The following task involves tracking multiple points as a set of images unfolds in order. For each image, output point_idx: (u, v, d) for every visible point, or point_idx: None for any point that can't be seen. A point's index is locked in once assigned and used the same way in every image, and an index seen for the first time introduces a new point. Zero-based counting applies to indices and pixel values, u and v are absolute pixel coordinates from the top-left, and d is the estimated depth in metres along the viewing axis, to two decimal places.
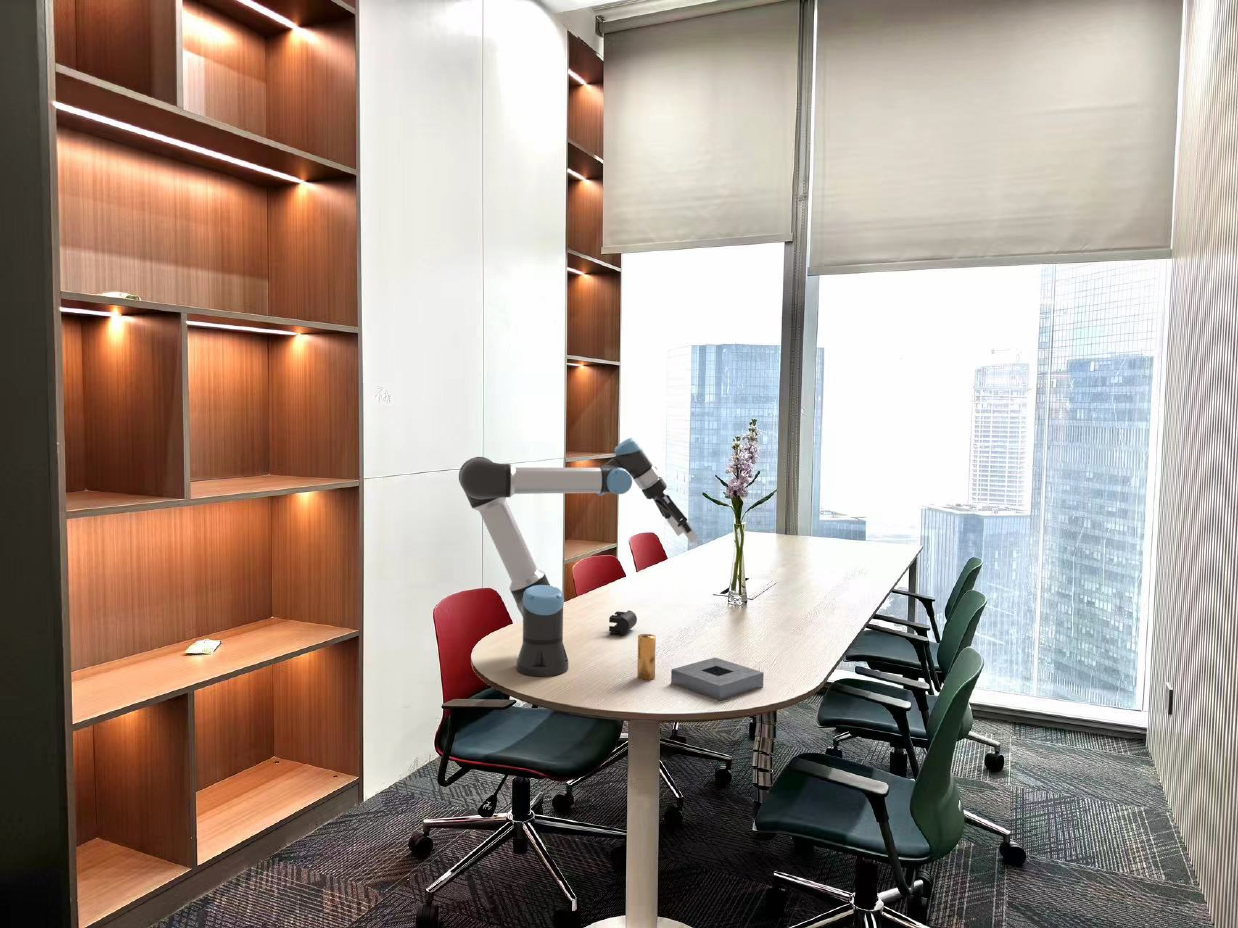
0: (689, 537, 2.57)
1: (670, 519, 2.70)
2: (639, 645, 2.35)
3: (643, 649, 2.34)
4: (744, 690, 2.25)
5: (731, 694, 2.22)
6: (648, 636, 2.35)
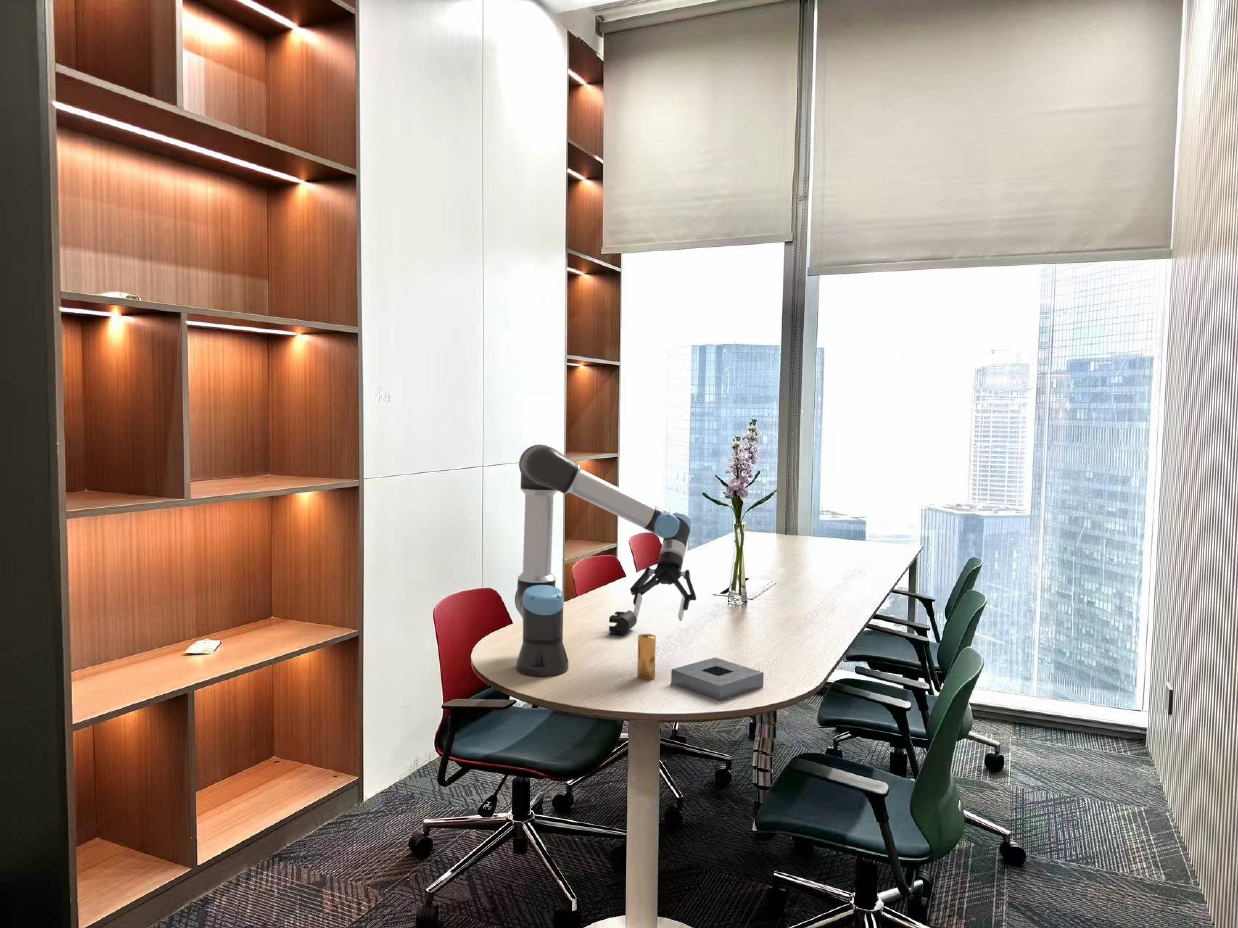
0: (681, 612, 2.44)
1: (640, 596, 2.51)
2: (639, 645, 2.35)
3: (643, 649, 2.34)
4: (744, 690, 2.25)
5: (731, 694, 2.22)
6: (648, 636, 2.35)
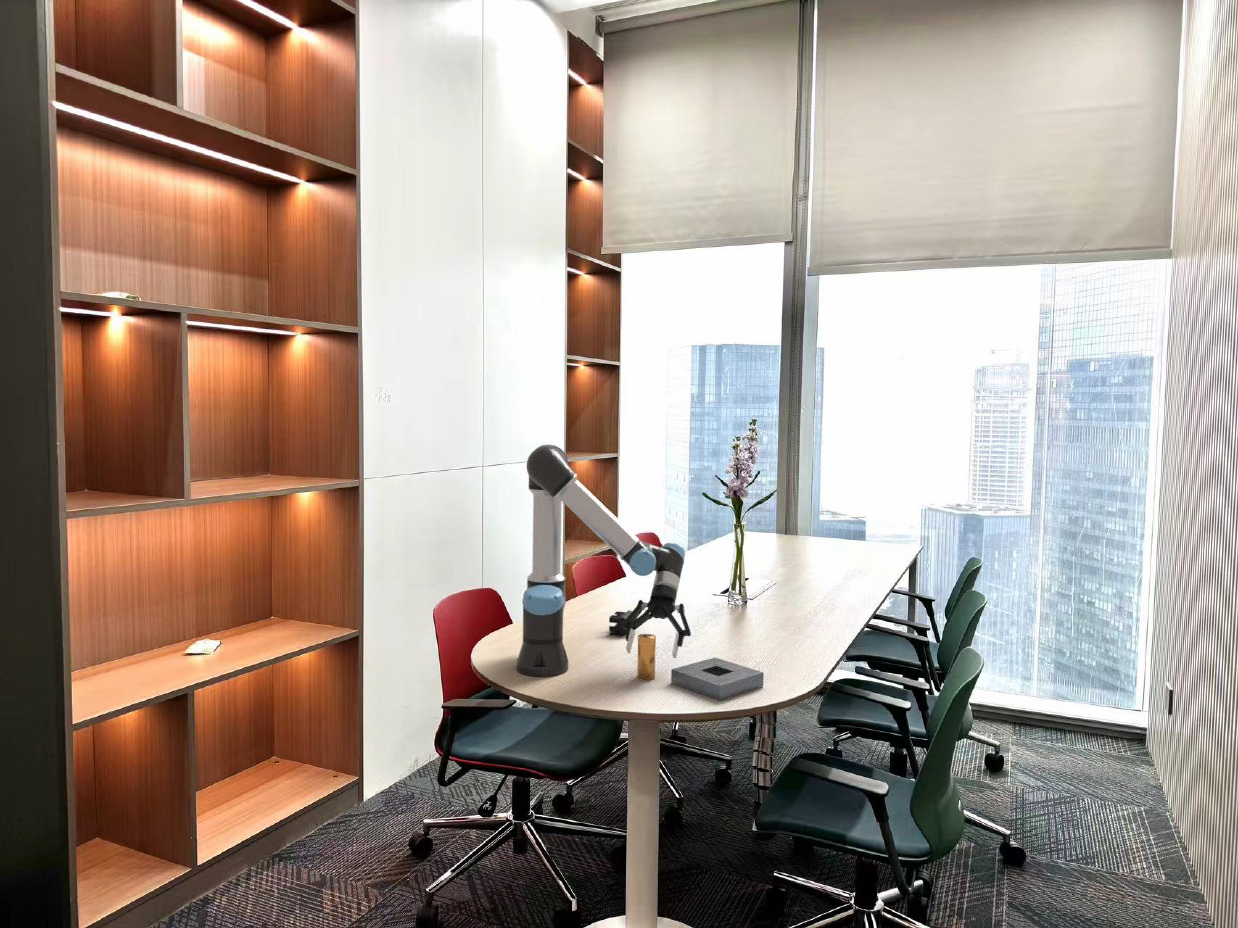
0: (676, 648, 2.35)
1: (633, 631, 2.42)
2: (639, 645, 2.35)
3: (643, 649, 2.34)
4: (744, 690, 2.25)
5: (731, 694, 2.22)
6: (648, 636, 2.35)
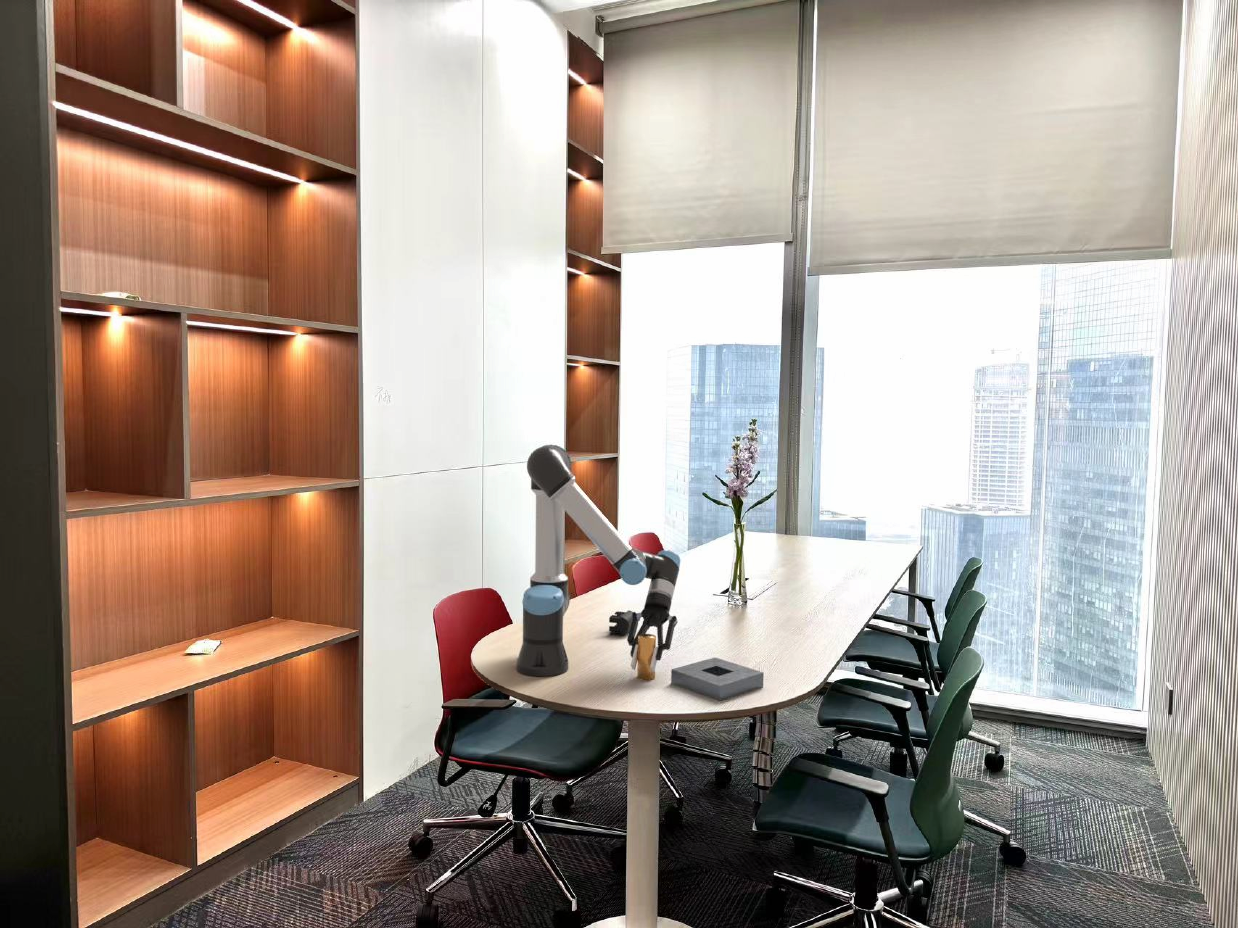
0: (654, 662, 2.32)
1: None
2: (639, 645, 2.35)
3: (643, 649, 2.34)
4: (744, 690, 2.25)
5: (731, 694, 2.22)
6: (648, 636, 2.35)
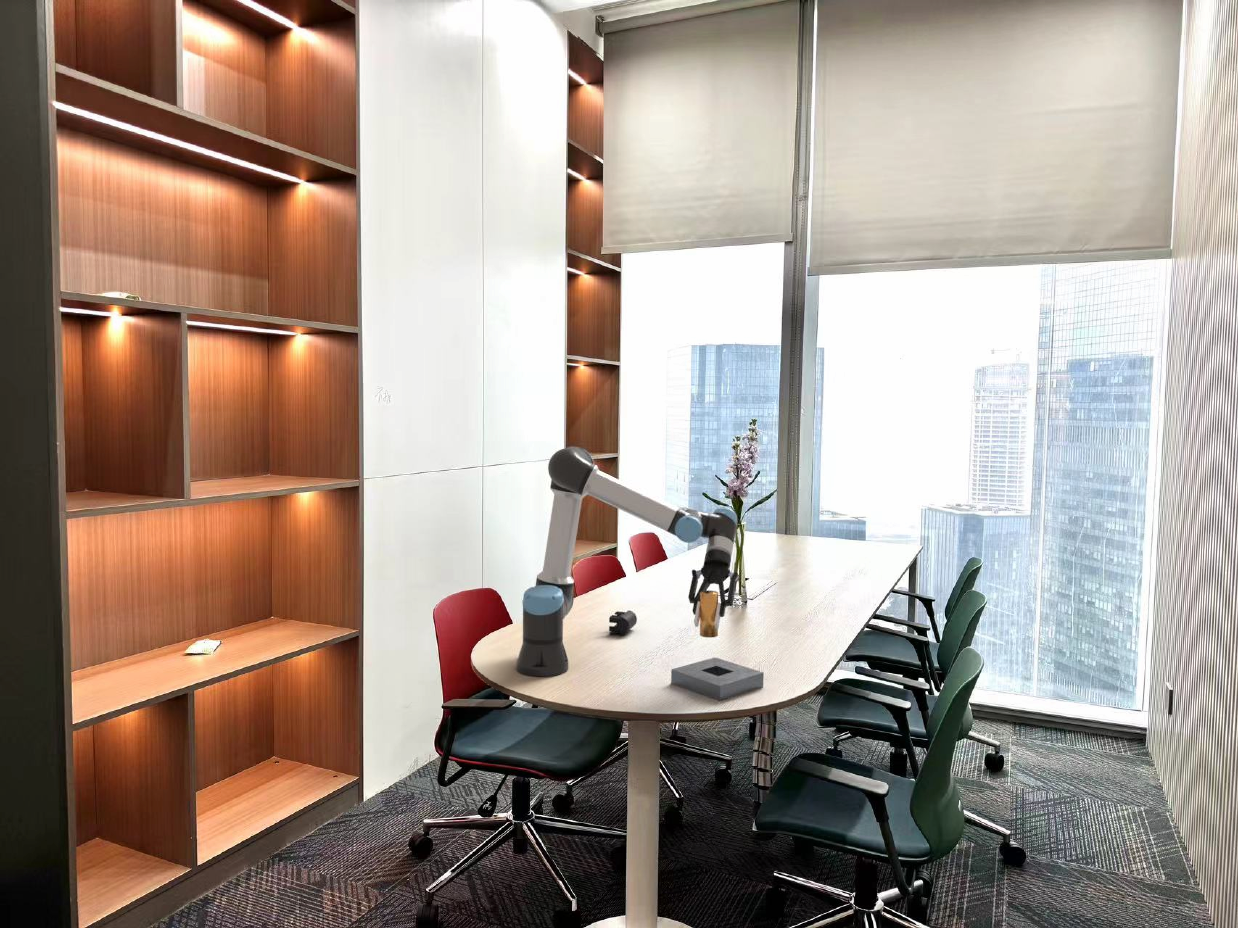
0: (718, 618, 2.27)
1: None
2: (702, 601, 2.29)
3: (706, 605, 2.28)
4: (744, 690, 2.25)
5: (731, 694, 2.22)
6: (710, 592, 2.30)
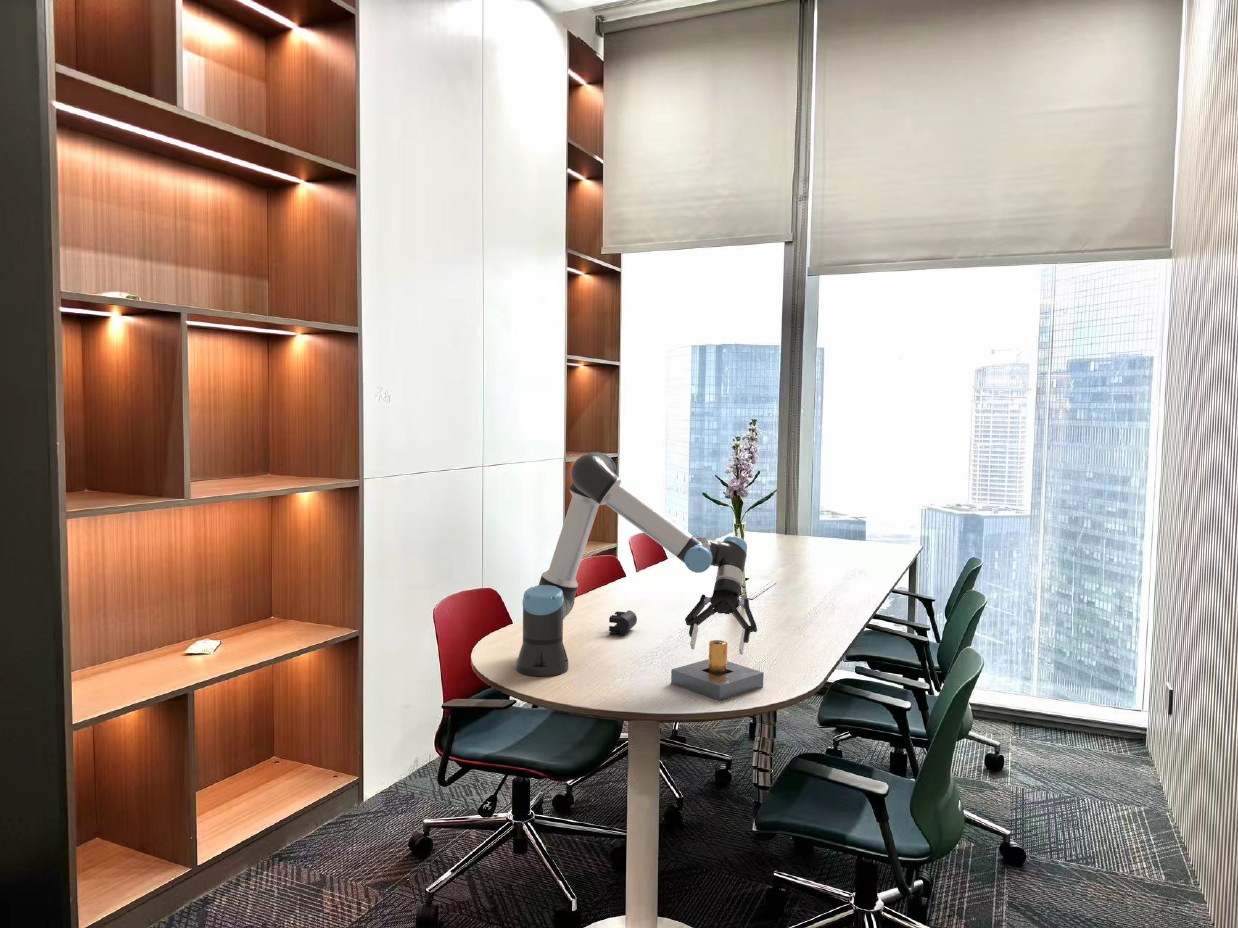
0: (742, 645, 2.26)
1: (697, 627, 2.34)
2: (711, 652, 2.29)
3: (715, 656, 2.28)
4: (744, 690, 2.25)
5: (731, 694, 2.22)
6: (720, 642, 2.30)
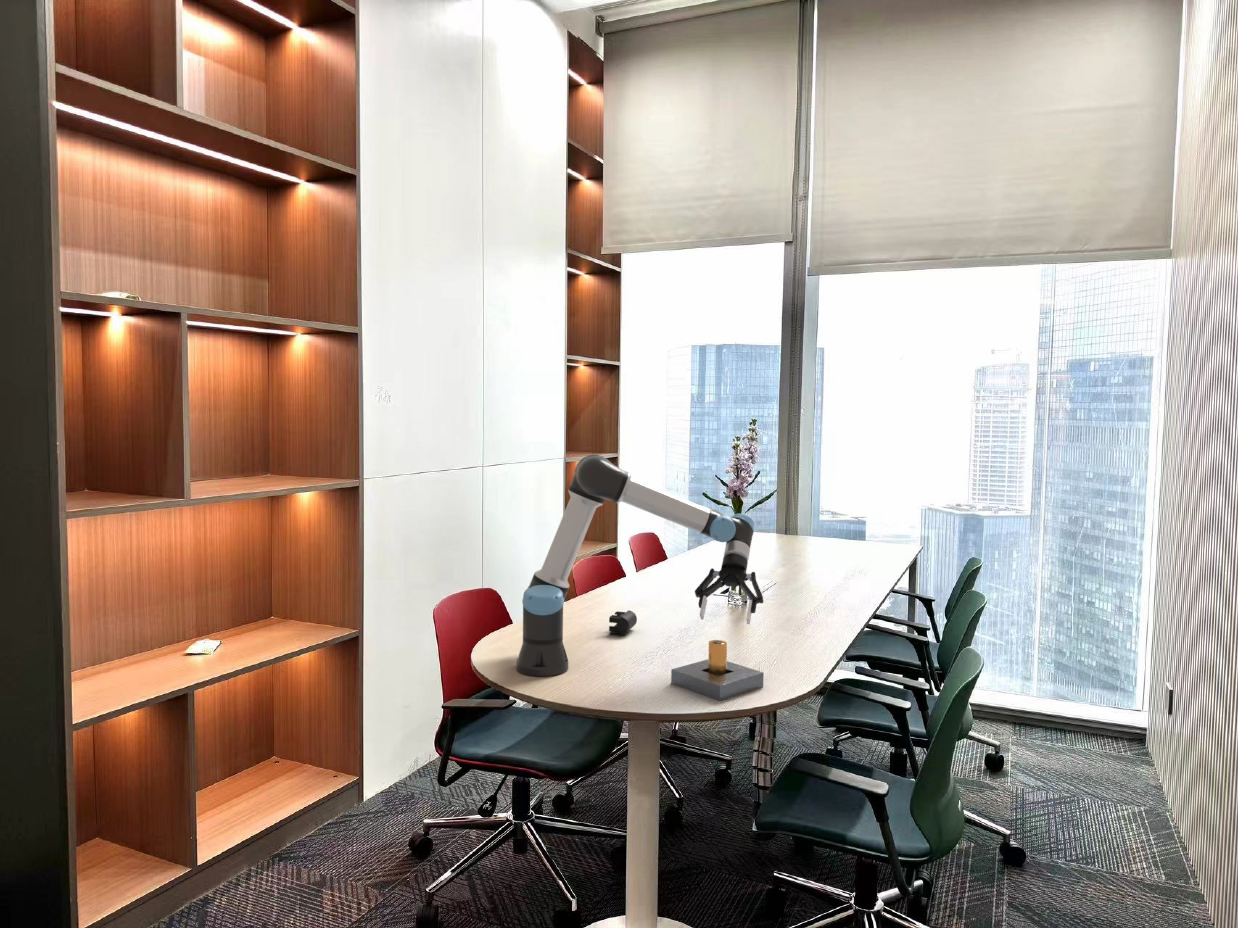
0: (749, 615, 2.39)
1: (706, 598, 2.46)
2: (710, 652, 2.29)
3: (715, 656, 2.28)
4: (744, 690, 2.25)
5: (731, 694, 2.22)
6: (719, 642, 2.30)
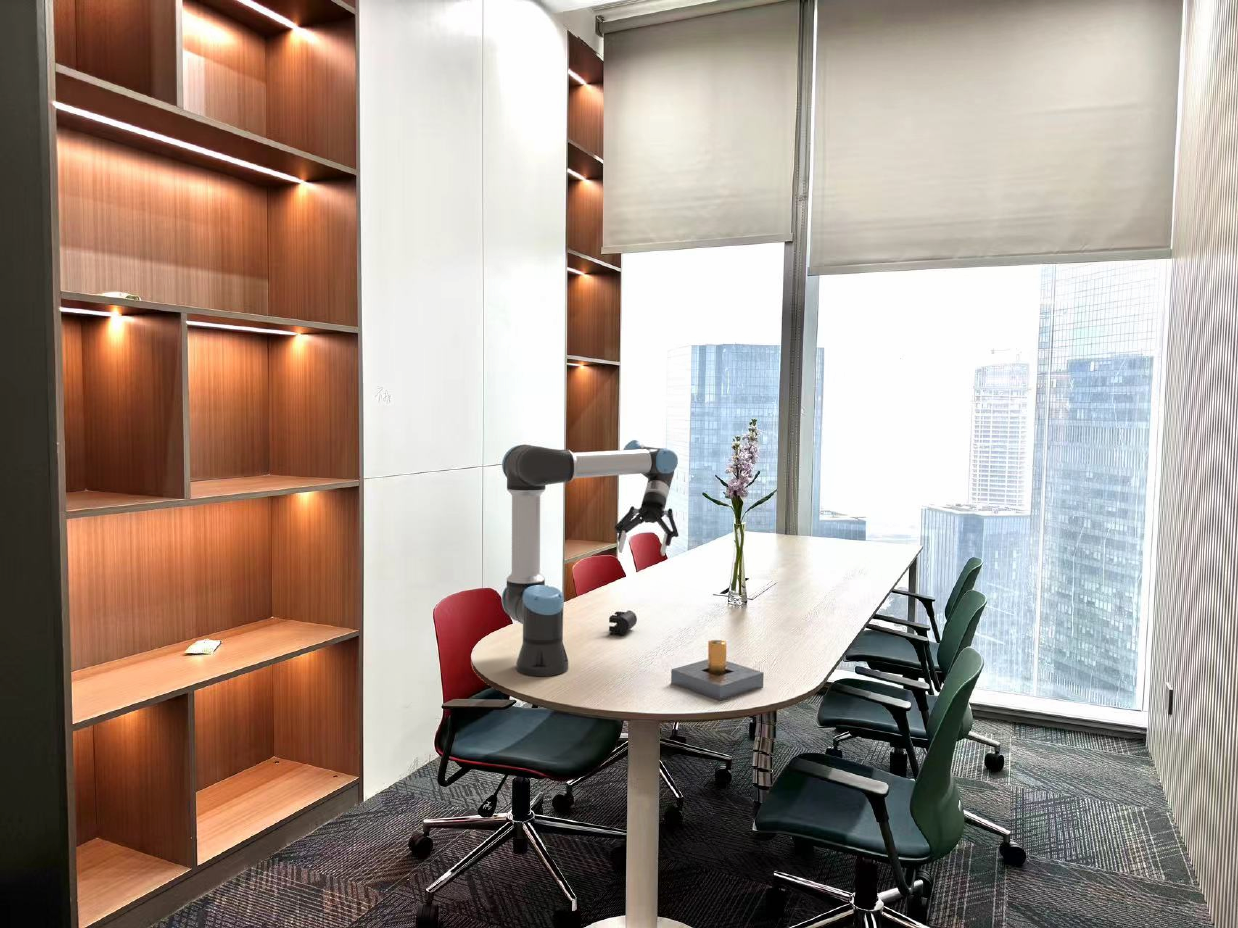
0: (664, 547, 2.52)
1: (625, 533, 2.60)
2: (710, 652, 2.29)
3: (715, 656, 2.28)
4: (744, 690, 2.25)
5: (731, 694, 2.22)
6: (719, 642, 2.30)
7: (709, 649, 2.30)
